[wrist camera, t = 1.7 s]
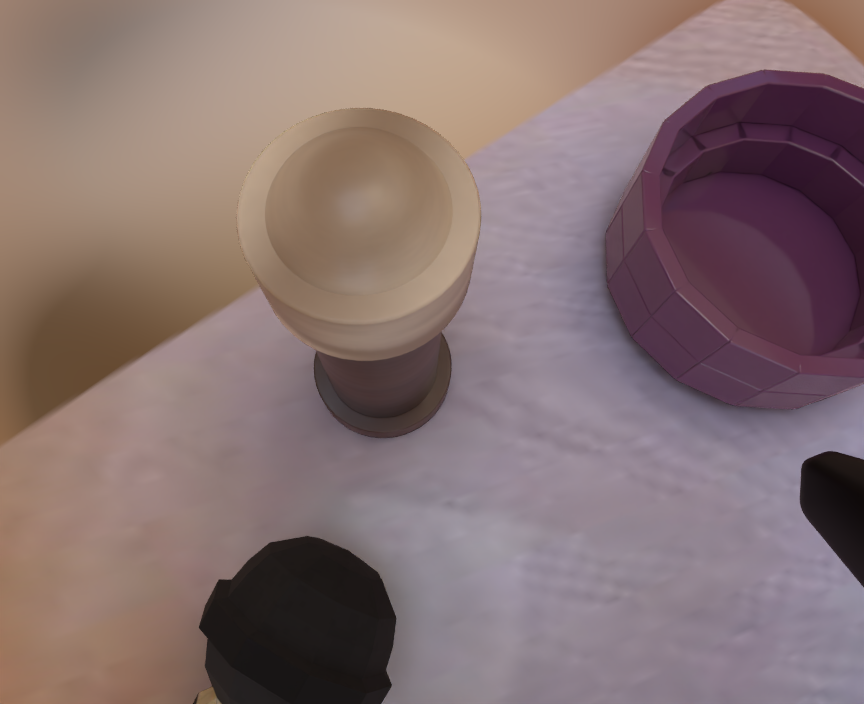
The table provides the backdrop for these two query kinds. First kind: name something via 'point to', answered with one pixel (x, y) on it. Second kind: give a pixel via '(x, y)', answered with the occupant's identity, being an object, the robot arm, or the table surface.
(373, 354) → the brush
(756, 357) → the bowl
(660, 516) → the table surface
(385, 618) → the microphone
